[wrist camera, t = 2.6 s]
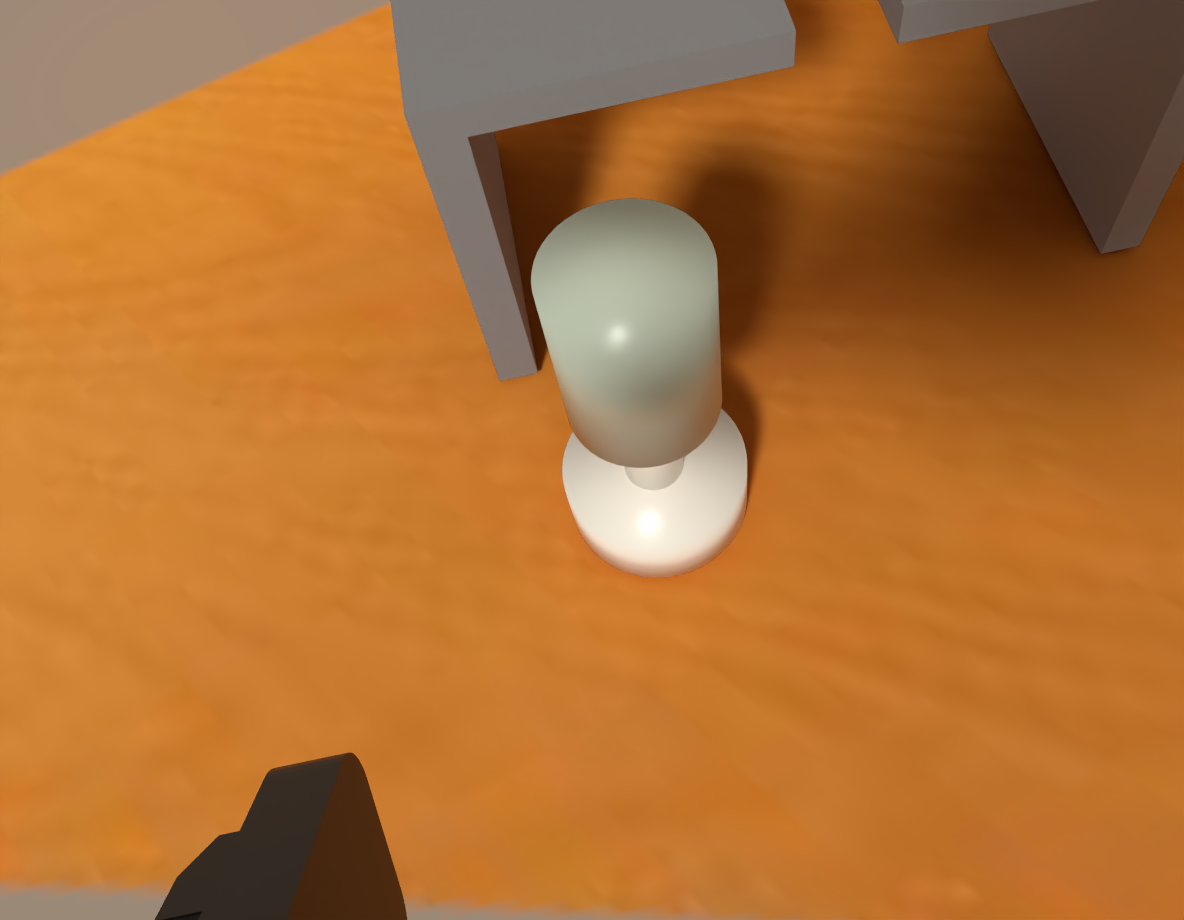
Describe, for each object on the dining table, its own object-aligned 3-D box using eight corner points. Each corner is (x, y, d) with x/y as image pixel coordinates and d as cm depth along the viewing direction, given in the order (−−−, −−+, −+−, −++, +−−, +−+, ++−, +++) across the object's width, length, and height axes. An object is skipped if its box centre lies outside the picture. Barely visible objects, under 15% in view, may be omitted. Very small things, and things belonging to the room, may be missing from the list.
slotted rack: (500, 381, 34) (404, 115, 24) (463, 148, 38) (371, -151, 29) (1139, 245, 33) (1303, -80, 24) (1021, 27, 38) (1117, -317, 28)
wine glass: (588, 594, 30) (520, 399, 21) (559, 440, 32) (487, 205, 23) (766, 556, 30) (775, 343, 21) (724, 405, 32) (716, 154, 23)
